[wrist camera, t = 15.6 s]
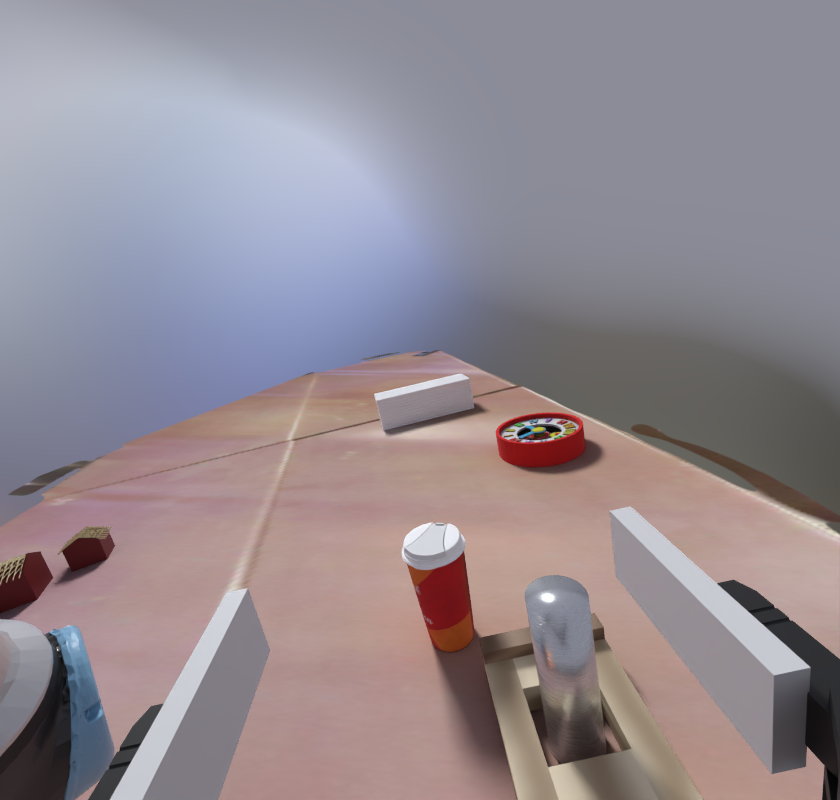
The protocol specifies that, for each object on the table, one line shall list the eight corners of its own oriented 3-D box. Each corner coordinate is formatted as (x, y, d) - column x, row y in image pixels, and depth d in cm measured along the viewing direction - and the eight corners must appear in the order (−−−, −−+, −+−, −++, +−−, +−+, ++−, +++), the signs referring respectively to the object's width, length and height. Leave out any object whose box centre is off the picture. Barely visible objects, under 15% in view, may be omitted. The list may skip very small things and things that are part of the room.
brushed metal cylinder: (560, 777, 36) (536, 625, 32) (540, 720, 41) (517, 582, 37) (617, 765, 36) (600, 612, 32) (590, 709, 41) (573, 570, 37)
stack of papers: (383, 431, 139) (376, 400, 136) (380, 422, 149) (373, 394, 146) (474, 408, 143) (469, 378, 140) (465, 401, 153) (460, 373, 150)
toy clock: (602, 422, 94) (532, 451, 86) (605, 446, 95) (536, 477, 88) (542, 407, 112) (479, 430, 104) (544, 428, 113) (483, 452, 106)
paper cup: (434, 606, 58) (414, 518, 54) (489, 614, 54) (471, 520, 51) (412, 654, 51) (387, 556, 47) (473, 666, 48) (451, 562, 44)
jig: (539, 892, 29) (531, 849, 28) (485, 670, 47) (479, 638, 46) (718, 853, 30) (717, 808, 28) (598, 645, 47) (594, 613, 46)
